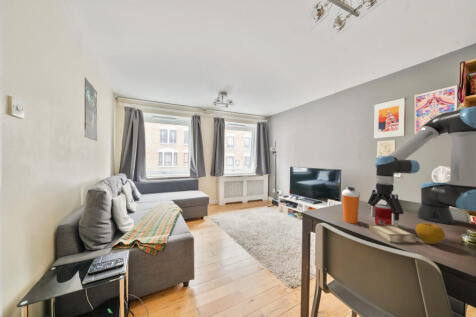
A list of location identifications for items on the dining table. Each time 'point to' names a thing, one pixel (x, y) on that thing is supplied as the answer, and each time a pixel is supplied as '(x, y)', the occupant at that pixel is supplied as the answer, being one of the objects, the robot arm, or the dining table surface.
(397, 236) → the dock
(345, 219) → the shaker bottle
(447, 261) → the dining table surface
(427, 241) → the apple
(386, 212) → the canned food
